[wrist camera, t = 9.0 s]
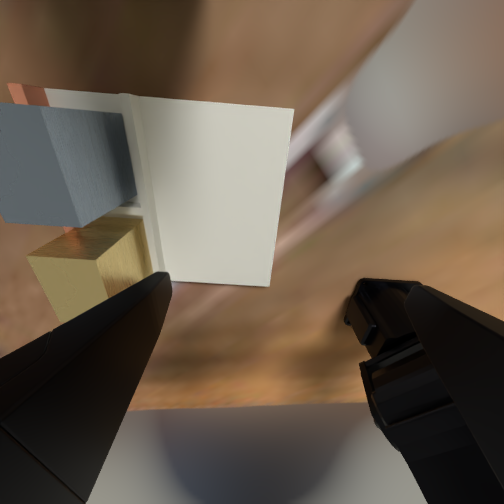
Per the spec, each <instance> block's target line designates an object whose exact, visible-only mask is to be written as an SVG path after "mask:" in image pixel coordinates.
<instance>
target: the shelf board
mask: <svg viewBox="0 0 504 504" xmlns="http://www.w3.org/2000/svg"><path fill="white" fill-rule="evenodd" d="M7 85H8V87H9V90H10V93H11V95H12V98H13V100H14V103H15V104H24V105H36V106H47V107H58V108H69V109H79V110H90V111H101V112H112V113H122V117H123V122H124V128H125V133H126V138H127V143H128V148H129V153H130V159H131V164H132V169H133V174H134V179H135V184H136V190H137V195H136V196H135V197H133V198H131V199H130V200H128V201H126V202H124V203H123V204H121V205H119V206H118V207H116V208H114V209H113V210H111V211H109V212H107V213H106V214H104V215H102V216H105V217H119V218H132V219H143V221H144V226H145V231H146V237H147V242H148V247H149V252H150V258H151V263H152V268H153V273H155V272H157V271H162V272H168V273H169V274H170V279H171V281H185V282H202V283H218V284H234V285H250V286H266V287H269V285H270V278H271V271H272V264H273V256H274V249H275V242H276V235H277V228H278V221H279V214H280V207H281V200H282V192H283V185H284V178H285V171H286V164H287V157H288V150H289V143H290V135H291V128H292V121H293V114H294V109H287V108H275V107H263V106H251V105H239V104H227V103H215V102H203V101H191V100H180V99H168V98H156V97H144V96H136V95H132V94H127V93H119V94H108V93H96V92H84V91H72V90H61V89H49V88H41V87H35V86H29V85H24V84H15V83H7ZM63 227H64V226H63ZM74 228H75V227H64V230H65V232H66V233H67V232H68V231H70V230H72V229H74Z"/></svg>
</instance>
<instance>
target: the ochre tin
mask: <svg viewBox="0 0 504 504" xmlns="http://www.w3.org/2000/svg"><path fill="white" fill-rule="evenodd" d="M26 257H27V259H28V261H29V263H30V265H31V267H32V269H33V271H34V273H35V274H36V276H37V278H38V280H39V282H40V284H41V286H42V288H43V290H44V292H45V294H46V296H47V297H48V299H49V301H50V303H51V305H52V307H53V309H54V311H55V313H56V315H57V317H58V319H59V321H60V322H67V321H69V320H71V319H73V318H75V317H76V316H78V315H80V314H82V313H83V312H85V311H87V310H89V309H91V308H92V307H94V306H96V305H98V304H100V303H101V302H103V301H105V300H107V299H108V298H110V297H112V296H114V295H116V294H117V293H119V292H121V291H123V290H124V289H126V288H128V287H130V286H132V285H133V284H135V283H137V282H139V281H141V280H142V279H144V278H146V277H148V276H149V275H151V274H153V268H152V263H151V258H150V252H149V247H148V242H147V237H146V231H145V226H144V221H143V219H132V218H119V217H105V216H101V217H99V218H97V219H96V220H94V221H92V222H90V223H89V224H87V225H85V226H84V227H82V228H78V227H75V228H74V229H72V230H70V231H68V232H67V233H65V234H63V235H61V236H60V237H58V238H56V239H54V240H53V241H51V242H49V243H47V244H45V245H44V246H42V247H40V248H38V249H37V250H35V251H33V252H31V253H30V254H28V255H26Z"/></svg>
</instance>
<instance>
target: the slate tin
mask: <svg viewBox="0 0 504 504" xmlns="http://www.w3.org/2000/svg"><path fill="white" fill-rule="evenodd" d="M136 195H137V190H136V184H135V179H134V174H133V169H132V164H131V159H130V153H129V148H128V143H127V138H126V133H125V128H124V122H123V117H122V113H112V112H101V111H90V110H79V109H69V108H58V107H47V106H36V105H24V104H12V103H0V213H1V215H2V217H3V219H4V221H5V223H19V224H34V225H49V226H64V227H78V228H82V227H84V226H85V225H87V224H89V223H90V222H92V221H94V220H96V219H97V218H99V217H101V216H102V215H104V214H106V213H107V212H109V211H111V210H113V209H114V208H116V207H118V206H119V205H121V204H123V203H124V202H126V201H128V200H130V199H131V198H133V197H135V196H136Z"/></svg>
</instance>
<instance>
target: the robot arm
mask: <svg viewBox="0 0 504 504" xmlns="http://www.w3.org/2000/svg"><path fill="white" fill-rule="evenodd" d="M365 282H366V283H365ZM363 283H365V284H363ZM171 297H172V285H171V279H170V274H169V273H168V272H162V271H157V272H155V273H153V274H151V275H149V276H148V277H146V278H144V279H142V280H141V281H139V282H137V283H135V284H133V285H132V286H130V287H128V288H126V289H124V290H123V291H121V292H119V293H117V294H116V295H114V296H112V297H110V298H108V299H107V300H105V301H103V302H101V303H100V304H98V305H96V306H94V307H92V308H91V309H89V310H87V311H85V312H83V313H82V314H80V315H78V316H76V317H75V318H73V319H71V320H69V321H67V322H66V323H64V324H62V325H60V326H58V327H57V328H55V329H53V331H52V332H51V331H50V332H48V333H46V334H44V335H42V336H41V337H39V338H37V339H35V340H33V341H32V342H30V343H28V344H26V345H24V346H22V347H21V348H19V349H17V350H15V351H13V352H11V353H10V354H8V355H6V356H4V357H2V358H0V504H86V502H87V501H88V498H89V496H90V494H91V492H92V489H93V487H94V485H95V482H96V480H97V478H98V475H99V473H100V471H101V469H102V466H103V464H104V462H105V459H106V457H107V455H108V452H109V450H110V448H111V446H112V443H113V441H114V439H115V436H116V434H117V432H118V430H119V427H120V425H121V422H122V420H123V418H124V416H125V413H126V411H127V409H128V407H129V404H130V402H131V400H132V397H133V395H134V393H135V390H136V388H137V386H138V384H139V381H140V379H141V377H142V374H143V372H144V370H145V367H146V365H147V363H148V361H149V358H150V356H151V354H152V351H153V349H154V347H155V345H156V342H157V340H158V337H159V335H160V332H161V329H162V326H163V323H164V320H165V316H166V313H167V310H168V307H169V303H170V300H171ZM344 322H345V324H346V325H349V326H352V328H353V330H354V332H355V334H356V336H357V338H358V340H359V342H360V343H361V345H365V346H366V348H367V350H368V352H369V354H370V356H371V359H369V360H367V361H366V362H365V361H363V362H361V363H359V367H360V370H361V377H362V380H363V384H364V388H365V392H366V396H367V400H368V404H369V407H370V411H371V414H372V416H373V418H374V422H375V425H376V426H377V427H378V428H379V429H380V430H381V431H382V432H383V433H384V435H385V437H386V438H387V439H388V441H389V442H390V443H391V445H392V446H393V447H394V448H395V449H396V450H398V451H400V452H401V454H402V456H403V457H404V459H405V461H406V462H407V464H408V466H409V468H410V470H411V472H412V473H413V476H414V477H415V479H416V481H417V483H418V485H419V487H420V489H421V491H422V493H423V495H424V497H425V499H426V501H427V503H428V504H504V321H502V320H500V319H498V318H495V317H493V316H491V315H489V314H487V313H485V312H483V311H481V310H478V309H476V308H474V307H472V306H470V305H468V304H466V303H464V302H461V301H459V300H457V299H455V298H453V297H451V296H449V295H447V294H444V293H442V292H440V291H438V290H436V289H434V288H432V287H430V286H426V285H422V284H421V283H420V282H418V281H403V280H388V279H372V278H363V279H361V280H360V281H359V283H358V285H357V288H356V290H355V293H354V295H353V297H352V298H351V301H350V303H349V306H348V308H347V311H346V315H345V318H344Z"/></svg>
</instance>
